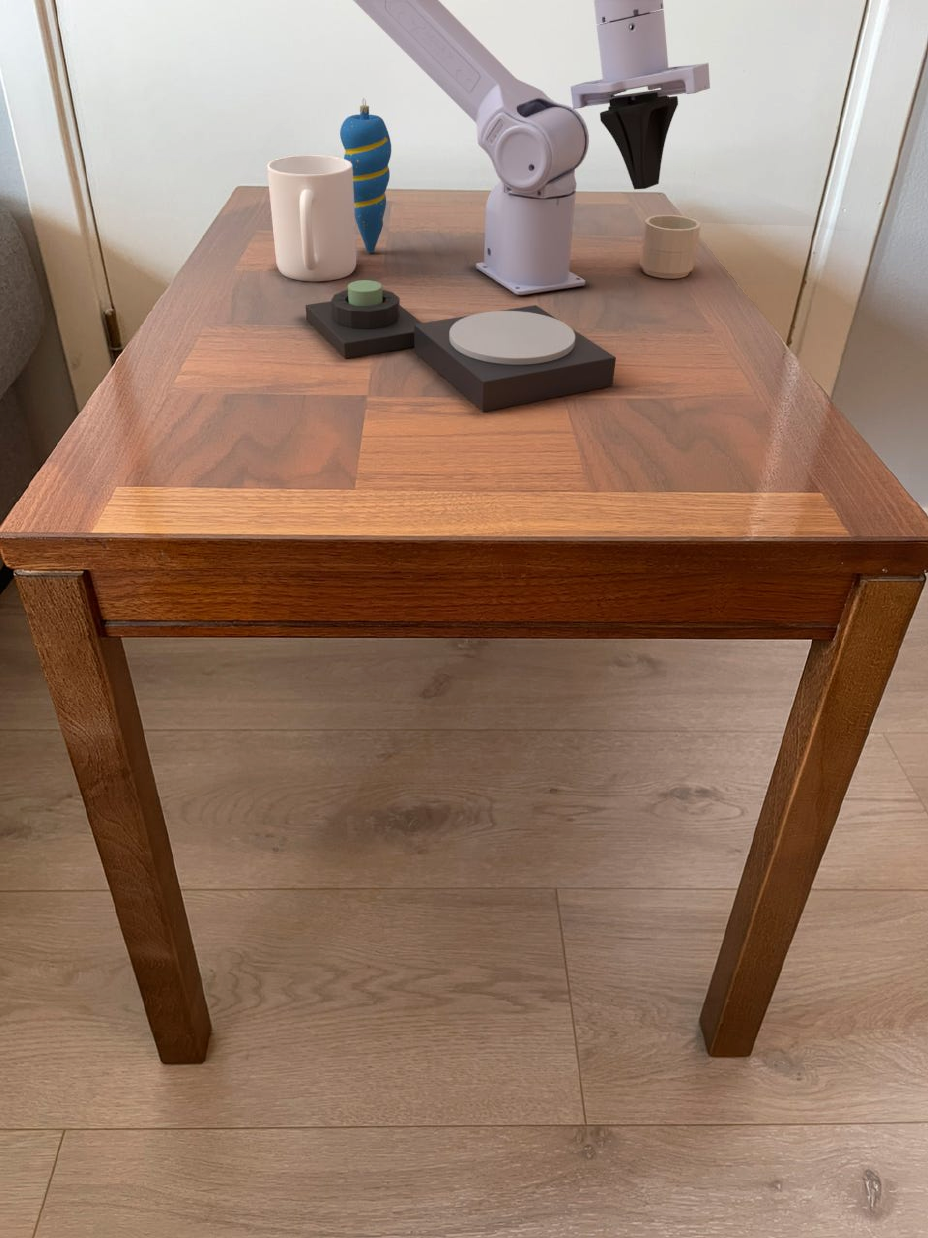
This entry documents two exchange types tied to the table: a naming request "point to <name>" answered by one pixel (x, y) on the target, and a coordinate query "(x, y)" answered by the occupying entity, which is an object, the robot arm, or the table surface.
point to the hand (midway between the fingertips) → (646, 186)
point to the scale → (513, 357)
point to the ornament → (368, 170)
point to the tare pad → (363, 325)
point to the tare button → (365, 293)
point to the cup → (313, 216)
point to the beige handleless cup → (669, 246)
